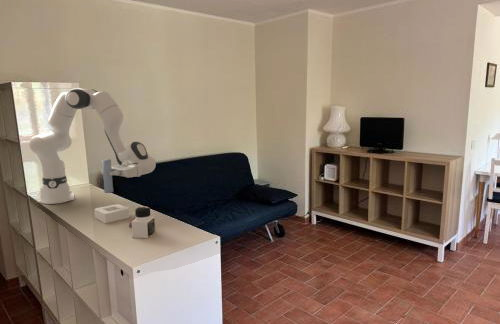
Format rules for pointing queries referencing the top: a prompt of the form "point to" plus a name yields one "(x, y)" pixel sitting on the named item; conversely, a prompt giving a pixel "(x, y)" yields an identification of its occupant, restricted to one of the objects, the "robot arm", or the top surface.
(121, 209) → the socket block
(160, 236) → the top surface
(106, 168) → the peg
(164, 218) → the top surface
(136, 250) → the top surface
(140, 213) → the medicine bottle
